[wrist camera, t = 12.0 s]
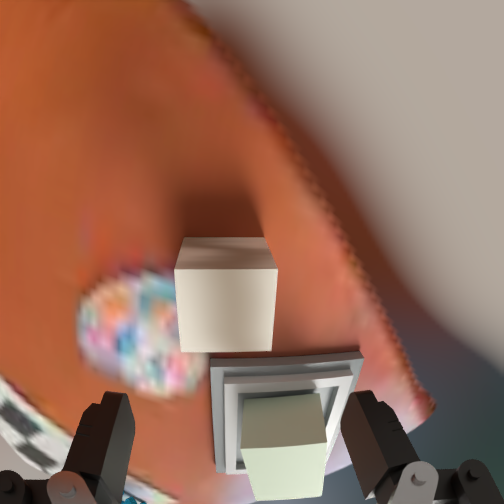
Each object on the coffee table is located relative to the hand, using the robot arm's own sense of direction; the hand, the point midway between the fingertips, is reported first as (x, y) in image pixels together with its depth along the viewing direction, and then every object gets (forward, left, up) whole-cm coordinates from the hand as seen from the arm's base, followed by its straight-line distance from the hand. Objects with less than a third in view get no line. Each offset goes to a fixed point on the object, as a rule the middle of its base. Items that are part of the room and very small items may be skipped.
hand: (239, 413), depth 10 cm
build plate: (+5, -15, -11) cm, 19 cm away
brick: (+5, -15, -10) cm, 19 cm away
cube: (0, 0, -12) cm, 12 cm away
